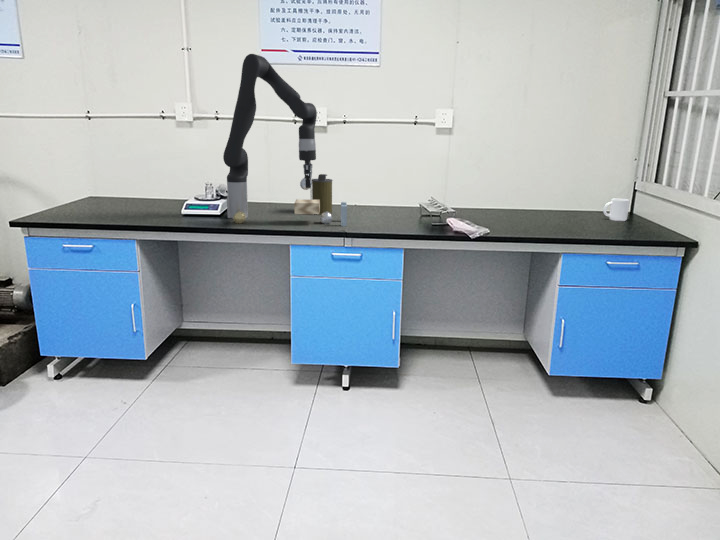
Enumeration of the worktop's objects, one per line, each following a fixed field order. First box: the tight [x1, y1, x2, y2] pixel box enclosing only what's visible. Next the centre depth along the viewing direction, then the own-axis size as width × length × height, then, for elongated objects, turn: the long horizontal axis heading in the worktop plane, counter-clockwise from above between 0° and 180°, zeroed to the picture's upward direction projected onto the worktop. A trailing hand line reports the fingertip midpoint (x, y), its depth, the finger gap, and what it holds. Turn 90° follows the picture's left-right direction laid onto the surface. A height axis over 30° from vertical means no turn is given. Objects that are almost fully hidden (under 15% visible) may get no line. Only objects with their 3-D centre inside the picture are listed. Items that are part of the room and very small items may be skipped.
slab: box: [293, 199, 320, 215], centre depth 256 cm, size 11×12×5 cm
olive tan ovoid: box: [232, 211, 247, 225], centre depth 256 cm, size 5×6×5 cm
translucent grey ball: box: [320, 211, 333, 225], centre depth 257 cm, size 5×6×5 cm
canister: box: [311, 173, 334, 216], centre depth 280 cm, size 11×10×20 cm
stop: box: [340, 201, 348, 227], centre depth 257 cm, size 2×14×9 cm, turn 3°
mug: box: [602, 197, 630, 222], centre depth 279 cm, size 12×8×10 cm
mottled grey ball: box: [299, 177, 312, 191], centre depth 252 cm, size 5×6×5 cm
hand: (308, 187), depth 253 cm, fingers closed on mottled grey ball, 5 cm apart
